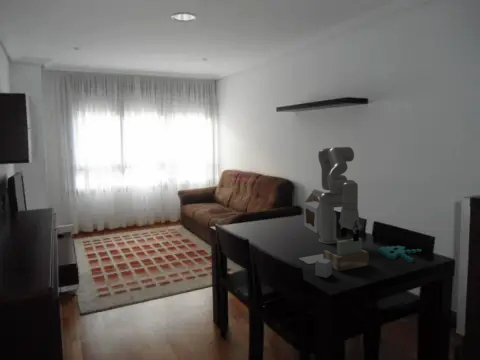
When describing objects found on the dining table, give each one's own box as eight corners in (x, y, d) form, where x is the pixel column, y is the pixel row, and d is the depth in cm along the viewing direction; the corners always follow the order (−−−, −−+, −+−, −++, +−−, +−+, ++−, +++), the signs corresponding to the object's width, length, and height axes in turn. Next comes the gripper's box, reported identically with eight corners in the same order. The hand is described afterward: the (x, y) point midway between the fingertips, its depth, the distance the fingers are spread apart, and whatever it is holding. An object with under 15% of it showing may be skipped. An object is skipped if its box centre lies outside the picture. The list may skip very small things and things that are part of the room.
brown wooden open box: (323, 262, 199) (323, 250, 198) (352, 257, 206) (352, 245, 205) (338, 271, 187) (338, 257, 186) (368, 265, 194) (368, 252, 193)
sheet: (336, 267, 192) (336, 241, 190) (358, 263, 197) (358, 237, 195) (339, 268, 190) (339, 242, 188) (361, 264, 195) (362, 238, 193)
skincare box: (331, 274, 183) (331, 260, 182) (326, 278, 178) (326, 263, 177) (320, 271, 187) (320, 257, 186) (315, 275, 182) (315, 261, 181)
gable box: (304, 225, 277) (303, 188, 274) (320, 224, 280) (320, 187, 277) (316, 233, 256) (316, 193, 252) (334, 231, 259) (334, 192, 255)
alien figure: (421, 253, 211) (385, 247, 223) (421, 249, 211) (385, 243, 223) (411, 263, 196) (373, 256, 208) (411, 259, 195) (374, 252, 208)
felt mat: (298, 258, 206) (298, 258, 206) (322, 254, 212) (322, 253, 212) (308, 264, 197) (308, 263, 197) (333, 259, 203) (333, 259, 203)
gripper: (333, 204, 196) (333, 235, 198) (355, 209, 180) (355, 243, 182) (345, 202, 199) (345, 234, 201) (367, 208, 183) (367, 241, 185)
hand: (349, 238), depth 191 cm, fingers open, 9 cm apart
